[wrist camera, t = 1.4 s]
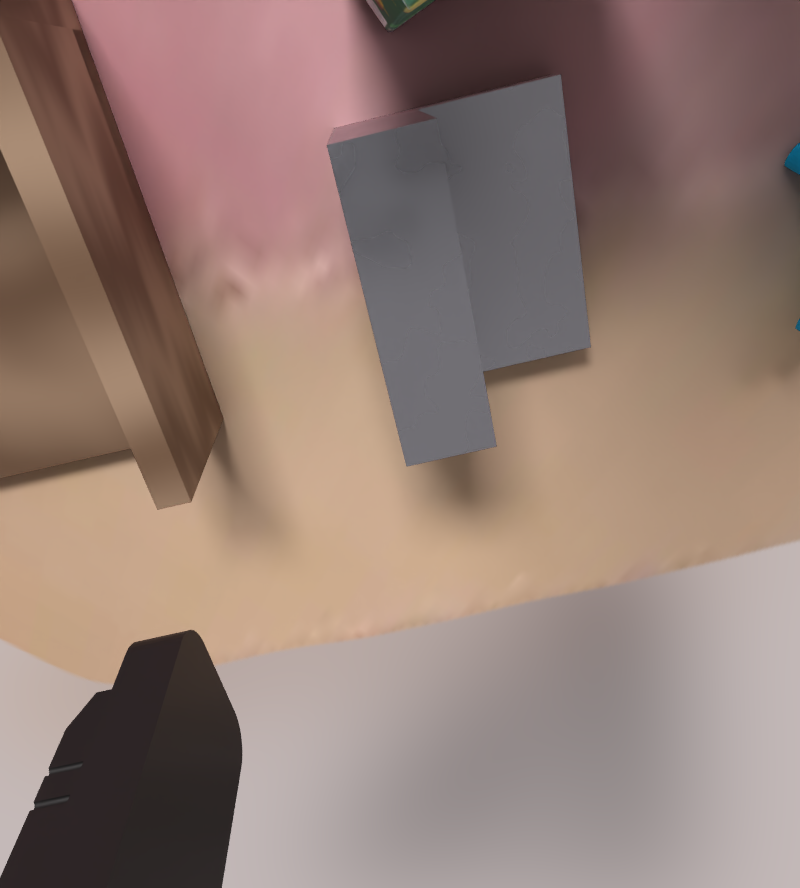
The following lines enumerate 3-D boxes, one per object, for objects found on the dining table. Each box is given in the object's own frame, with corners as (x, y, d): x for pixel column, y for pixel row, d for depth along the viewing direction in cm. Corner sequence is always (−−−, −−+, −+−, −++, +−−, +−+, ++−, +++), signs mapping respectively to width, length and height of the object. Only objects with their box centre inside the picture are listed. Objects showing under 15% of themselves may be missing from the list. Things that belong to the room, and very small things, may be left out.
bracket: (333, 128, 27) (326, 144, 20) (550, 74, 26) (623, 72, 19) (394, 378, 31) (406, 466, 24) (580, 335, 31) (649, 412, 24)
